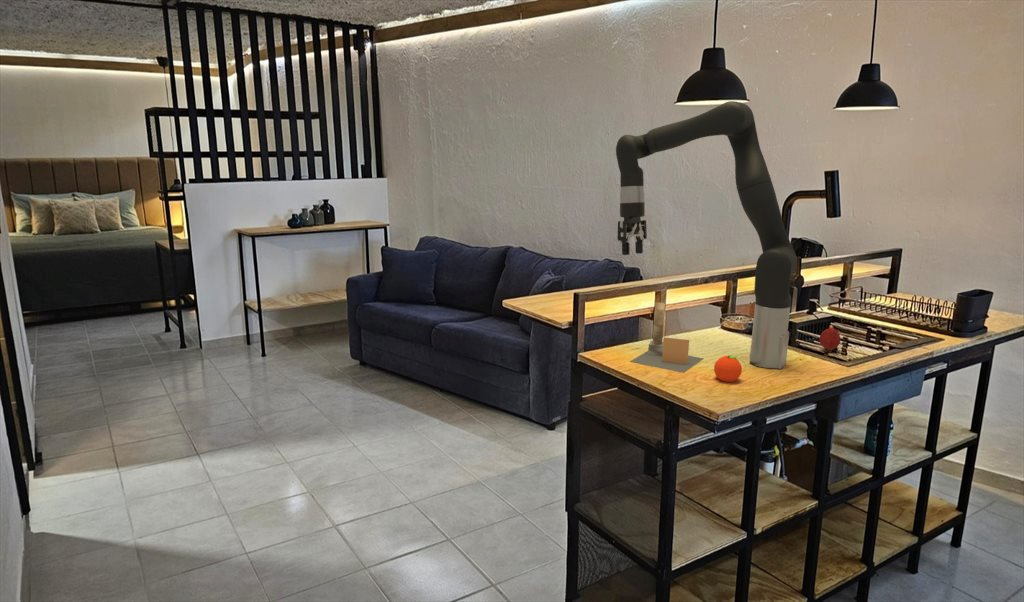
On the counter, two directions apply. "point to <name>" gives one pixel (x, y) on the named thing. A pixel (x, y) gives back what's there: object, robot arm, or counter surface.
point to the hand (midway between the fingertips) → (632, 254)
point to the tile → (675, 350)
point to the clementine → (728, 368)
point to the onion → (830, 338)
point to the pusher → (657, 331)
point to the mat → (657, 362)
